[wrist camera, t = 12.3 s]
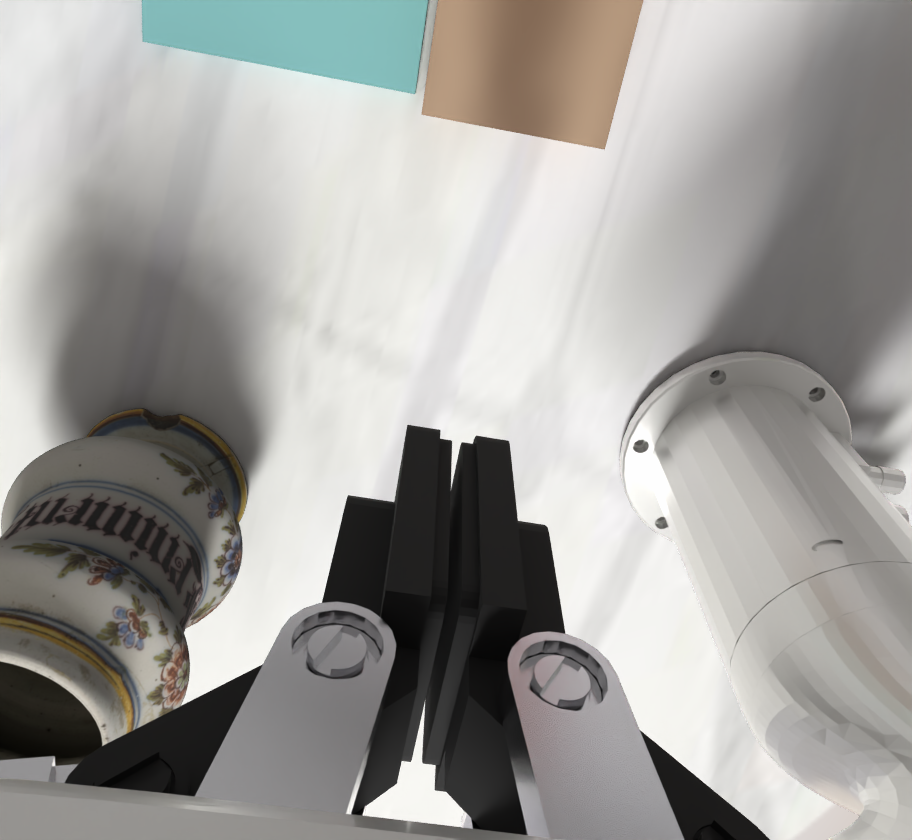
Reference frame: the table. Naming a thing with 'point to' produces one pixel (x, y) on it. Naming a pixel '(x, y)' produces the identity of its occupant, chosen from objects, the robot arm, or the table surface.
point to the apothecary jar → (111, 579)
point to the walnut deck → (531, 65)
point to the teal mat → (300, 35)
